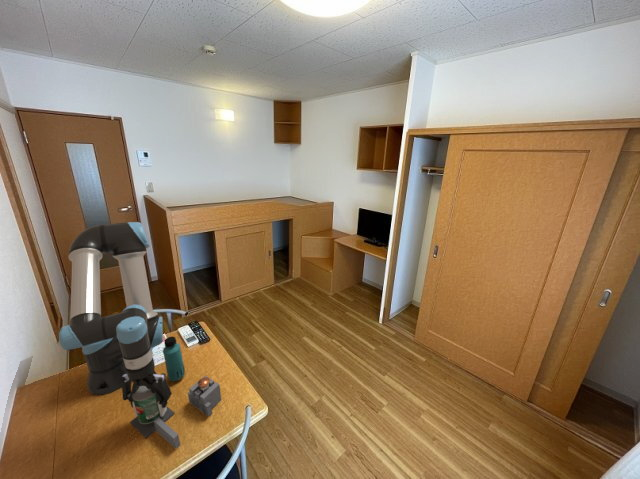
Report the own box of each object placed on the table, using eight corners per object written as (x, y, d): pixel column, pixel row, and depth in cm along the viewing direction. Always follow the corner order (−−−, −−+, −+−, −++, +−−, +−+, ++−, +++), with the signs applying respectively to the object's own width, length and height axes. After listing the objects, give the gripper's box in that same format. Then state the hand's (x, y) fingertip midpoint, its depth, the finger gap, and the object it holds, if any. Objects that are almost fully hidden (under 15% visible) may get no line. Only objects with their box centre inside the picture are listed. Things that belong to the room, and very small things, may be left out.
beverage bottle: (178, 385, 105) (171, 346, 99) (164, 382, 107) (156, 343, 100) (189, 373, 112) (183, 335, 105) (175, 370, 113) (168, 332, 106)
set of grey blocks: (156, 431, 88) (152, 414, 86) (205, 388, 105) (202, 373, 102) (176, 449, 83) (172, 431, 81) (224, 401, 100) (222, 386, 97)
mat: (130, 423, 91) (129, 421, 90) (158, 400, 99) (158, 399, 99) (146, 438, 86) (145, 437, 86) (174, 413, 94) (174, 412, 94)
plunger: (197, 396, 97) (195, 383, 95) (206, 388, 101) (204, 375, 98) (204, 401, 96) (202, 388, 93) (213, 393, 99) (212, 380, 97)
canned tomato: (132, 419, 89) (126, 395, 86) (154, 400, 96) (148, 377, 93) (149, 428, 87) (142, 404, 83) (169, 407, 94) (164, 384, 90)
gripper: (98, 370, 80) (114, 422, 88) (165, 371, 81) (175, 423, 88) (115, 352, 88) (129, 402, 95) (177, 354, 88) (186, 403, 95)
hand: (151, 412), depth 92 cm, fingers closed on canned tomato, 8 cm apart
